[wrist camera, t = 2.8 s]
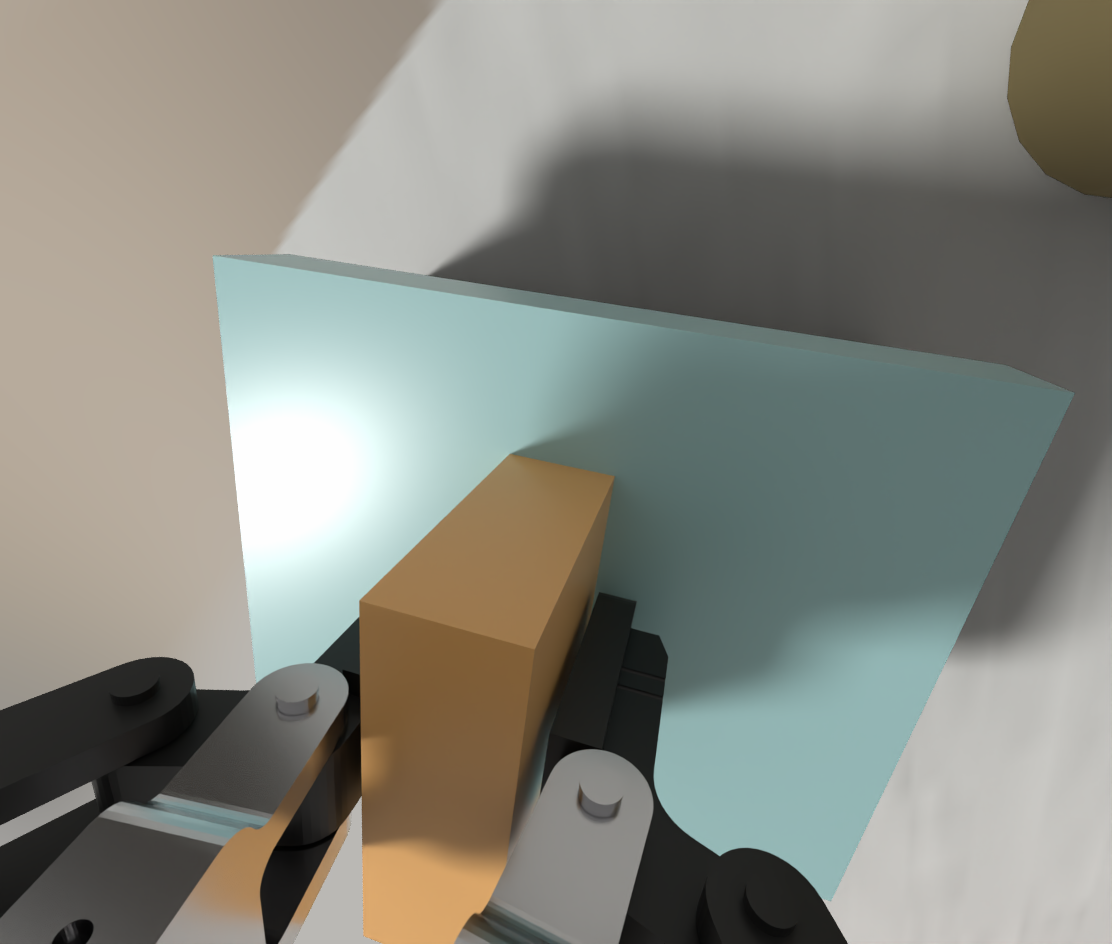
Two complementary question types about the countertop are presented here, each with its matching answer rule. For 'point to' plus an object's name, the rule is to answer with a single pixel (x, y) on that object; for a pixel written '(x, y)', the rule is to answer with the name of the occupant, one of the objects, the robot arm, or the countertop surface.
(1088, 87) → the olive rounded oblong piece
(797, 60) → the countertop surface
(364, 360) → the lid
